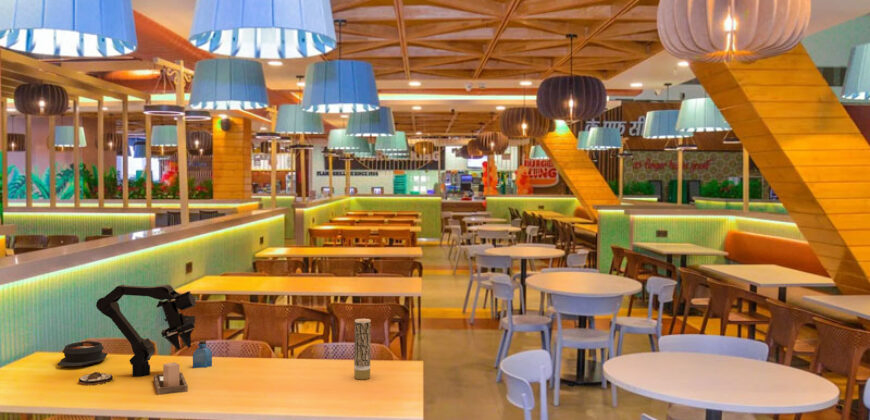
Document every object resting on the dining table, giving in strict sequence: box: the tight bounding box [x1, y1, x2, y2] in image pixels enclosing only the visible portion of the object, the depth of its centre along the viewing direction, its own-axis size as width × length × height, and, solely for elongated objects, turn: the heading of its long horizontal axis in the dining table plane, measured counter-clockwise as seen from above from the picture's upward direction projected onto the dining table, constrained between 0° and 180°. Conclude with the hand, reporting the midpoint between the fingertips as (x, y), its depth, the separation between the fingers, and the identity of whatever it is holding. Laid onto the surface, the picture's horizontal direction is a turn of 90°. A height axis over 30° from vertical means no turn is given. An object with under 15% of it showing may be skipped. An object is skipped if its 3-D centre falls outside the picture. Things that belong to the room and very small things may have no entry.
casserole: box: [57, 340, 108, 367], centre depth 322 cm, size 25×19×8 cm
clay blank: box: [162, 362, 180, 387], centre depth 280 cm, size 4×4×10 cm
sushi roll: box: [78, 371, 113, 386], centre depth 293 cm, size 15×15×4 cm
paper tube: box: [353, 318, 372, 381], centre depth 303 cm, size 7×7×25 cm
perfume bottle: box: [192, 339, 213, 369], centre depth 317 cm, size 6×6×12 cm
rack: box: [153, 371, 189, 396], centre depth 285 cm, size 21×11×3 cm, turn 25°
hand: (184, 348), depth 300 cm, fingers open, 9 cm apart
